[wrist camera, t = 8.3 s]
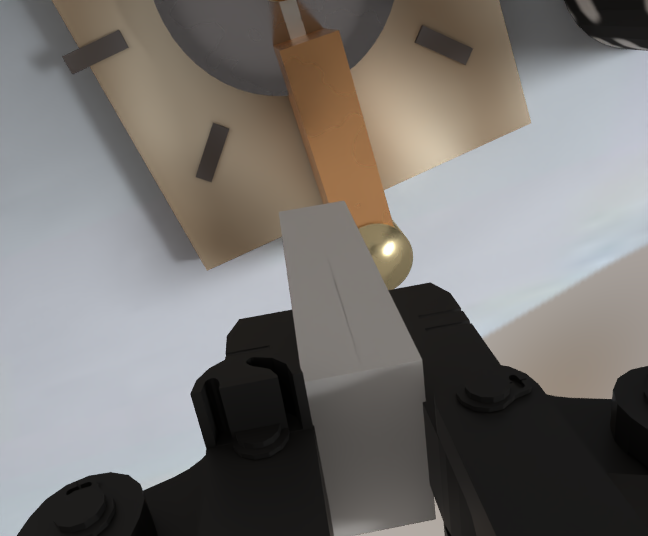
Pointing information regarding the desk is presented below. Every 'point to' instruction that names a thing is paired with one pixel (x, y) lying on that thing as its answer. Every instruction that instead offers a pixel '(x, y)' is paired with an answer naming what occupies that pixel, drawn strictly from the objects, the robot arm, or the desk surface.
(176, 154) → the panel
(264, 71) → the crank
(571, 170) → the desk surface
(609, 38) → the spotted tube
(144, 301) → the desk surface
